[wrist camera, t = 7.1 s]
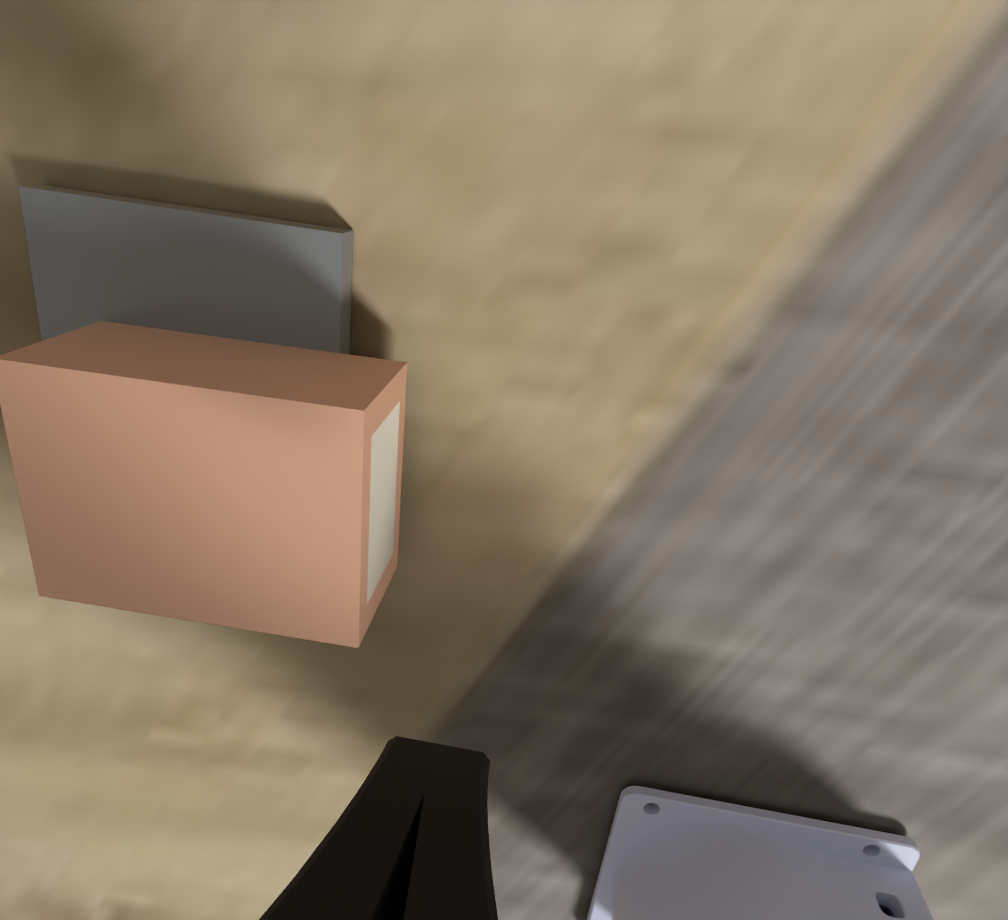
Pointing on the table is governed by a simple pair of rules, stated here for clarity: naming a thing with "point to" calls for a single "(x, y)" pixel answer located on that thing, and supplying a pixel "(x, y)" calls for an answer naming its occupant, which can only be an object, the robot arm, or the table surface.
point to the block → (209, 477)
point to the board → (186, 270)
